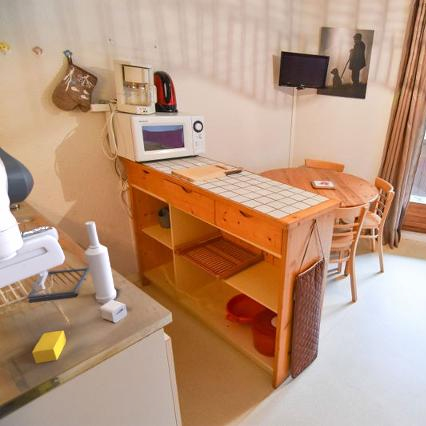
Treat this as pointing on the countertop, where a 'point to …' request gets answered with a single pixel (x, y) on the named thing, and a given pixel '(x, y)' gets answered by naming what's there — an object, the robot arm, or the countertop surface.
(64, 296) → the dark grey flat frame
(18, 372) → the countertop surface
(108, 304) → the usb wall charger
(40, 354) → the sponge
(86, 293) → the countertop surface
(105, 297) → the bottle
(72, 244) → the countertop surface
